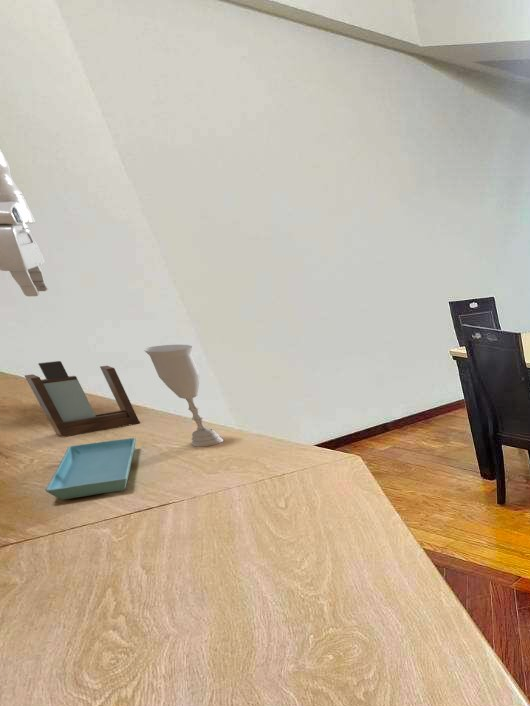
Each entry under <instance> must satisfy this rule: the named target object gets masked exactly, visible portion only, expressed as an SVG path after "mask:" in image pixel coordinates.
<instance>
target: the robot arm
mask: <svg viewBox="0 0 530 706" xmlns="http://www.w3.org/2000/svg"><path fill="white" fill-rule="evenodd" d="M36 223H37V222H36V220H35V217H34V215H33V213H32V210H31V209H30V207H29V205H28V203H27V200H26V198H25V197H24V194H23V192H22V191H21V189H20V188H19V187H18V186H17V184H16V183H15V182H14V180H13V178H12V175H11V168H10V165H9V162H8V161H7V159H6V157H5V155H4V153H3V150H2V149H1V148H0V271H2V272H9V273H10V275H11V278H13V280H14V281H15V282H16V283H17V285H18V286H19V288H20V289H21V291H22V293H23V294H24V296H25V297H38V296H39V295H40V293H39V292H47V291H48V290H49V288H48V285H47V283H46V282H45V278H44V273H43V271H42V269H41V266H42V265H45V264H46V260H45V257H44V256H43V254H42V251H41V250H40V247H39V245H38V243H37V242H36V240H35V238H34V235H33V234H32V231H31V229H30V227H29V225H28V224H36Z"/></svg>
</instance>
